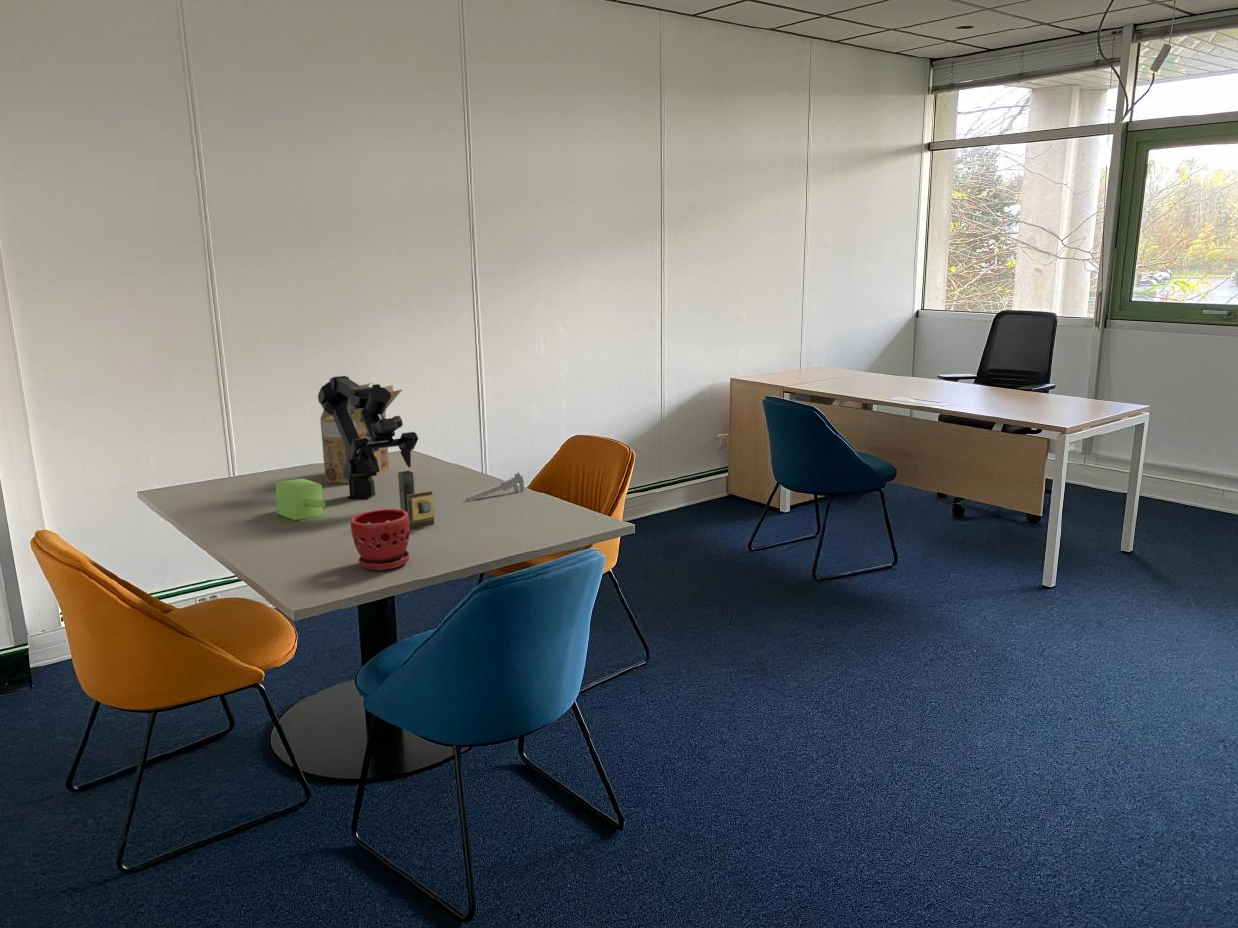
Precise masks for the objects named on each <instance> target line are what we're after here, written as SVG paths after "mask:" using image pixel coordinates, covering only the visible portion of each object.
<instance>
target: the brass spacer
mask: <svg viewBox="0 0 1238 928" xmlns="http://www.w3.org/2000/svg"><path fill="white" fill-rule="evenodd" d="M422 502H429V503H431V511H427V512H421V513H419V507H418V503H422ZM411 511H412V520H414V521H415V520H420V519H425V518H431V517H434V518H435V517H436V514H435V513H436V512H435V497H434V494H433V493H432V494H429V495H423V496H418V497H412V498H411Z"/></svg>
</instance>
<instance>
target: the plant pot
mask: <svg viewBox="0 0 1238 928" xmlns="http://www.w3.org/2000/svg"><path fill="white" fill-rule="evenodd" d="M410 530H411V529H410V528H409V517H408V513H407V512H406V511H403V510H401V509H398V508H396V509H395V508H388V509H387V508H385V509H376V510H369V511H365V512H362V513H359V514H356V515H354V516H353V517H351V519H350V531H351V535H352V540H353V542H354V546H355V549H356V550H357V552H358V554H359V556H360V557H359V558H358V563H359V565H361V566H362V567H363V568H365V569H368V570H372V571H384V570H391V569H395V568H399V567H401V566H403V565H404V564H406V563H407V562H408V561H409V559H410V557H411V553H410V552H409V551H408V550H407V548H408V546H409V541H410Z"/></svg>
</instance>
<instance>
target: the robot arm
mask: <svg viewBox="0 0 1238 928" xmlns="http://www.w3.org/2000/svg"><path fill="white" fill-rule="evenodd" d="M360 385H361V384H360ZM360 385H359V383H356V382H355V381H353V380H352V379H350V378H349V376H346V375H340V376H333V377H330V378H329V381H328V382H327V383H325V384H324V385H322V386H321V388H320V390H319V392H318V393H317V399H318V403H319V405H321V407H322V409H323V410H324V411H326V412H327V413H329V414H330V415H332V416H333V418H334V421H335V423H336V425H337V428H338V430H339V432H340V435H341V437H342V439H343V442H344V444H345V446H346V449H347V451H348V454H347V458H346V464H345V466H344V469H343V474H344V477H345V478H347V479H349V484H348V490H349V495H348V496H347V499H349V500H350V499H358V500H359V499H360V500H367V499H370V498H372V497H373V496H375V495H376V489H375V488H376V487H375V481H374V479H373V477H376V476H378V475H377V472H379V471H380V469H379V466H378V461H377V458H376V457H375V456H374V453H373V451H372V449H377V448H380V449H381V448H388V449H389V448H393V447H398V448H399V450H400V455H401V457H402V459H403V460H404V462H405V465H406V466H407V467H408V468H411V465H412V461H411V459H412V458H411V456H412V455H411V452H412V451H413V450H415V448H416V445H417V443H418V440H419V437H418V434H417V433H416V432H415V431H410V432H409V431H408V432H402V433H401V436H400V437H399V438H393V437H395V436H396V432H395V431H397V430H398V429H400V428H402V427H403V425H404V424H403V419H402V417H401V416H400V415H395V416H394V415H393V417H390V418H386V419H384V417H383V415H382V414H383V413H384V412H385V411H387V409H388V408H387V406H388V404H389V401H390V398H391V393H390V392H389V391H388V390H387V389H385V388H383V387H382V386H381V385H380V384H379V383H378V384H375V383H374V384H371V385H372V386H369V387H362V386H360ZM349 399H350V404H351V405H352V406H353V407H354V408H355V409H362V408H364V409H363V410H362V411H361V414H360V415H361V418H360V421H361V422H364V425H365V427H366V429H367V434H366V435H367V437H370V439H371V441H372V442H368V439H367V438H361V439H360V437H359V435H358V433H357V430H356V428H355V426H354V424H353V421H352V419H351V417H350V414H349V412H348V410H347V404H348V401H349ZM388 407H389V406H388ZM372 476H373V477H372Z"/></svg>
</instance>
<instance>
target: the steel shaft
mask: <svg viewBox="0 0 1238 928" xmlns="http://www.w3.org/2000/svg"><path fill="white" fill-rule="evenodd" d="M397 477H398V489H399V490H398V493H399V507H400V509H399V510H403V511H406V512H407V497H406V495H410V494H415V482H414V472H413V471H410V470H406V471H405V470H404V471H400V472H399V471H398V472H397ZM418 507H419V510H421V511H423V512H427V511H431V503H429V502H422V503H418Z"/></svg>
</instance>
